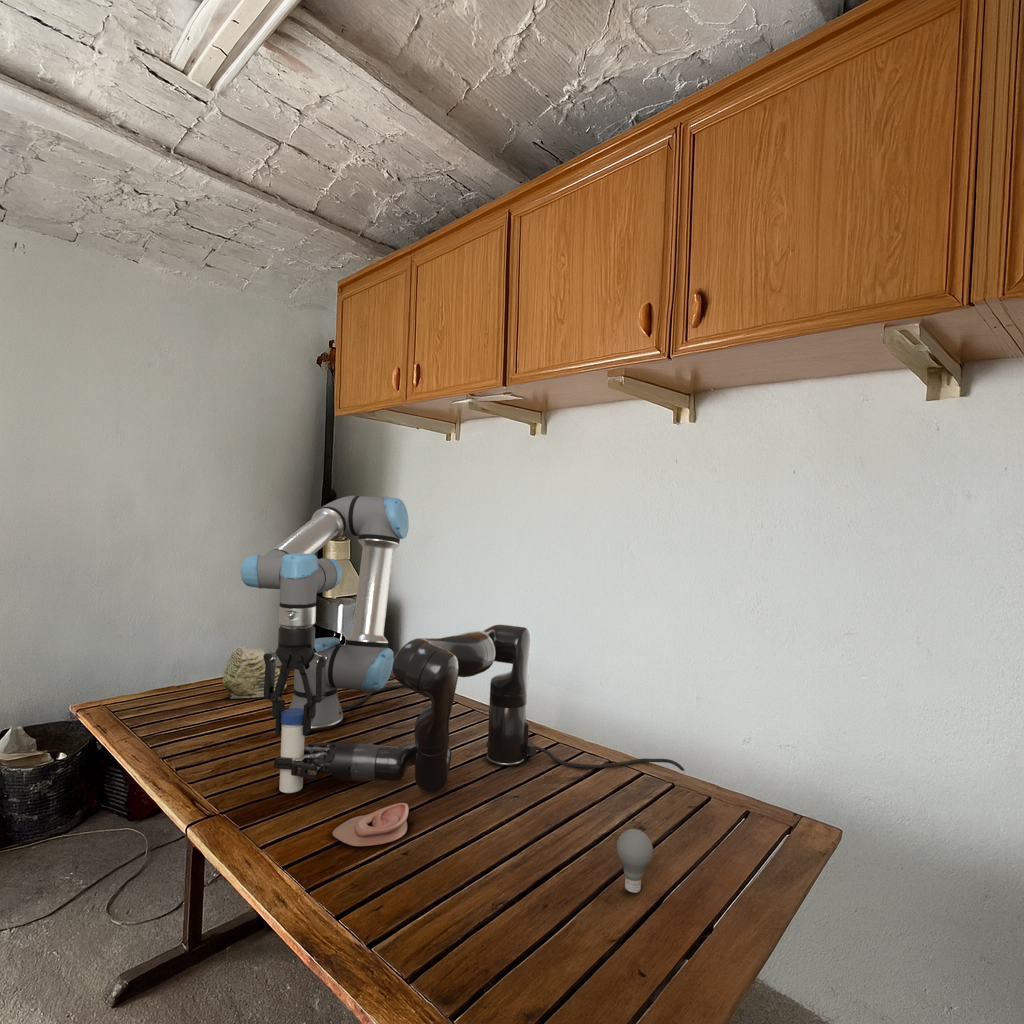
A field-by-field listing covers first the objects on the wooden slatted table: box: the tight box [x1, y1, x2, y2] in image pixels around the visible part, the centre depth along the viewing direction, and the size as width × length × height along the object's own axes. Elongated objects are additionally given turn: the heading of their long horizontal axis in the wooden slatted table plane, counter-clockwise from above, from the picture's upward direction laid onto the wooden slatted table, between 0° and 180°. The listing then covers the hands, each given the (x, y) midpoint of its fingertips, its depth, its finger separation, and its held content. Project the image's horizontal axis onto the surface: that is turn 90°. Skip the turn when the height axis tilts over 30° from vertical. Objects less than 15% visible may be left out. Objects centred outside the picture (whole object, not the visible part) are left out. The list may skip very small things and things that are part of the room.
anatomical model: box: [332, 802, 410, 847], centre depth 121 cm, size 13×4×12 cm
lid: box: [281, 708, 304, 725], centre depth 137 cm, size 5×5×2 cm
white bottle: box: [278, 723, 306, 794], centre depth 137 cm, size 5×5×16 cm
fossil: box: [222, 646, 288, 699], centre depth 198 cm, size 9×18×15 cm, turn 132°
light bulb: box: [615, 828, 654, 894], centre depth 106 cm, size 6×6×10 cm
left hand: (293, 732), depth 137 cm, fingers closed on lid, 5 cm apart
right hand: (280, 757), depth 137 cm, fingers closed on white bottle, 4 cm apart
